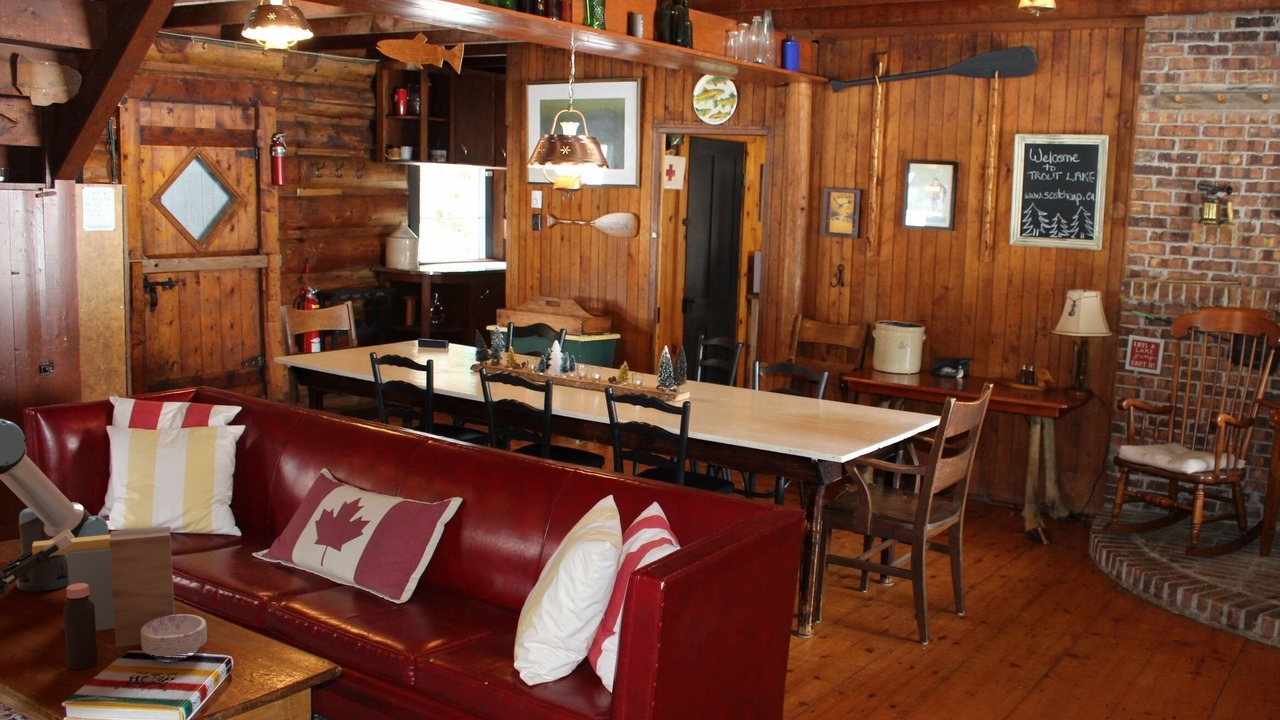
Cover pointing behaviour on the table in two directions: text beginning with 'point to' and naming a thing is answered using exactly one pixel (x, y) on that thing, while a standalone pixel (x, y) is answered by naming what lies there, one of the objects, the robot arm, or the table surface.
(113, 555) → the walnut pedestal
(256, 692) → the table surface
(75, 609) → the bottle
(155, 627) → the paper bowls
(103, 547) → the ochre bar
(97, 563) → the grey u cradle
